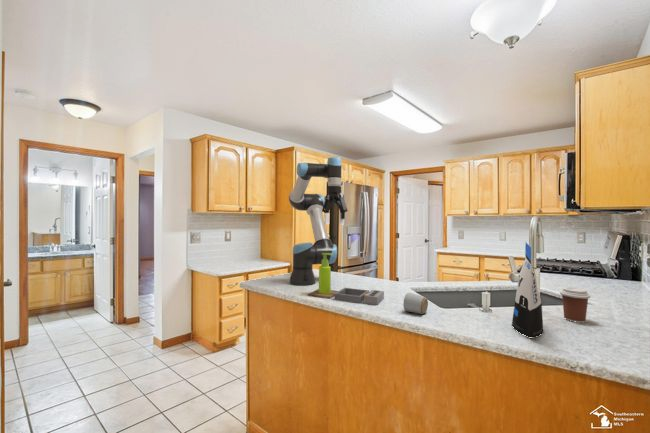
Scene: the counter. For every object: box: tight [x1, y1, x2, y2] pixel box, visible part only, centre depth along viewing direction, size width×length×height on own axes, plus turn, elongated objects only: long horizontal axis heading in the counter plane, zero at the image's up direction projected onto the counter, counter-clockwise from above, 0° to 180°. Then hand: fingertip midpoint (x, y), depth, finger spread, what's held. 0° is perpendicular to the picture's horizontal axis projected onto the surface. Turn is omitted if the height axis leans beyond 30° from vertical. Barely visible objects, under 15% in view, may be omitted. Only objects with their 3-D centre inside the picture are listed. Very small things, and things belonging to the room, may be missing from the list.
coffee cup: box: [559, 286, 591, 323], centre depth 118 cm, size 9×9×12 cm
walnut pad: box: [307, 288, 339, 300], centre depth 154 cm, size 12×12×1 cm
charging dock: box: [334, 287, 385, 306], centre depth 146 cm, size 13×20×4 cm, turn 64°
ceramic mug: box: [403, 292, 429, 315], centre depth 127 cm, size 11×8×8 cm
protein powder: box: [511, 242, 544, 338], centre depth 110 cm, size 10×24×30 cm, turn 150°
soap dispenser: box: [318, 253, 333, 294], centre depth 153 cm, size 6×7×20 cm
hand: (334, 224), depth 167 cm, fingers open, 13 cm apart
